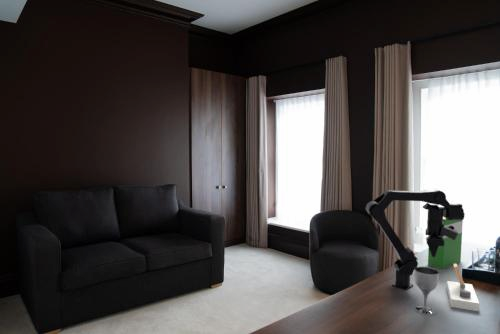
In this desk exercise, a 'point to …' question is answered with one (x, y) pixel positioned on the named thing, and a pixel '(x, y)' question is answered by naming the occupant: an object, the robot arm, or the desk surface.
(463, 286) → the paddle lever
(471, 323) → the desk surface
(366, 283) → the desk surface
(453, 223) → the cereal box
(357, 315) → the desk surface
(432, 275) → the wine glass
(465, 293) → the push button
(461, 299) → the switch panel
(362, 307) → the desk surface
